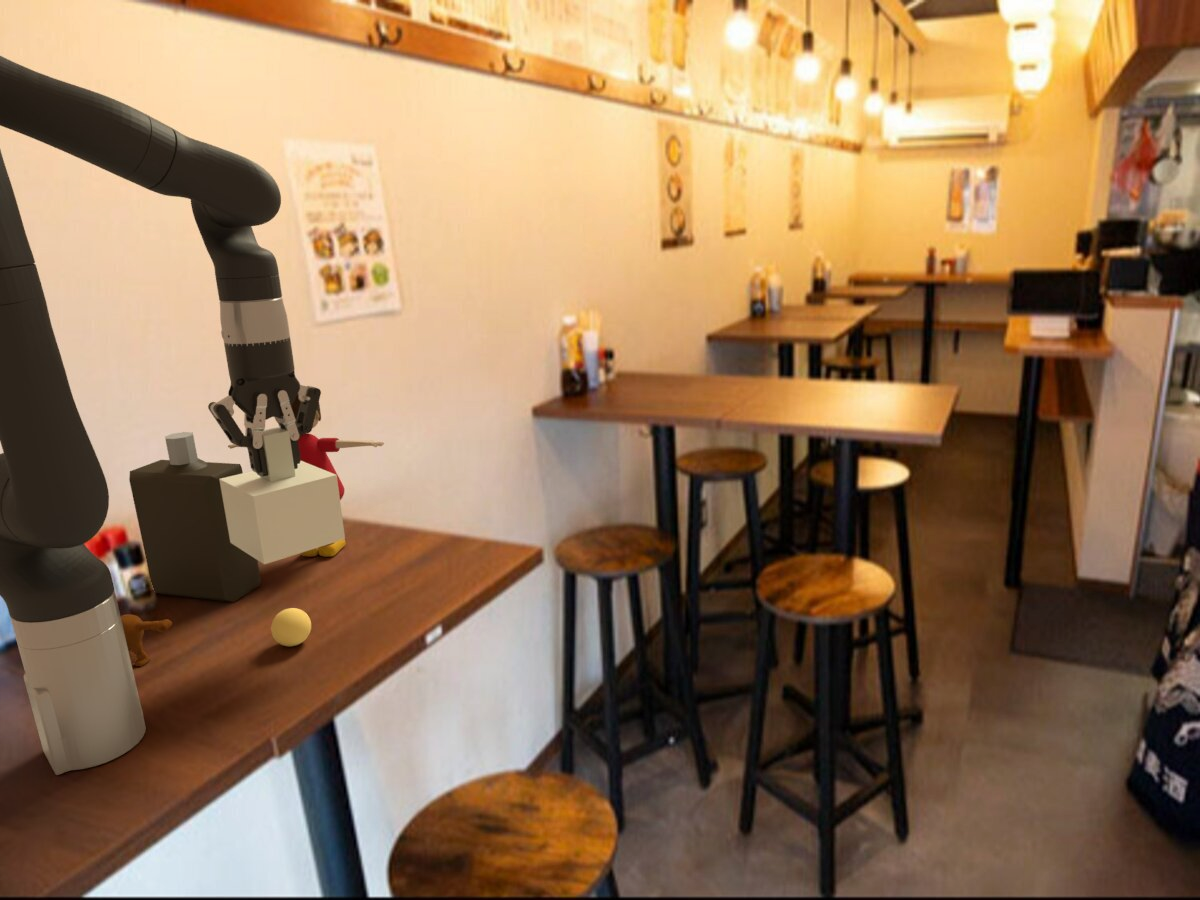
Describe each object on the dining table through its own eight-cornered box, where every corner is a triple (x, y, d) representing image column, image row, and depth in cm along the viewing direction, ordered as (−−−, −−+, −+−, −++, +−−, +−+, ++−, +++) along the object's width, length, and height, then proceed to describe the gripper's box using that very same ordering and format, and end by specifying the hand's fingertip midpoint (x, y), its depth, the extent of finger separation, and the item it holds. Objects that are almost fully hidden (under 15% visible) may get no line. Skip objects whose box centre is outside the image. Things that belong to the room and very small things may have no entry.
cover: (264, 564, 97) (245, 447, 93) (230, 542, 105) (211, 433, 101) (345, 538, 105) (330, 429, 101) (308, 520, 112) (293, 417, 108)
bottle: (233, 605, 119) (204, 444, 113) (147, 595, 124) (113, 440, 117) (268, 582, 127) (242, 430, 120) (185, 574, 131) (156, 426, 124)
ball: (273, 639, 103) (299, 607, 105) (257, 627, 106) (283, 596, 108) (299, 658, 106) (325, 626, 108) (283, 645, 109) (308, 615, 111)
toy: (405, 543, 140) (386, 375, 132) (383, 568, 130) (361, 388, 122) (261, 542, 143) (233, 377, 135) (228, 567, 133) (196, 391, 125)
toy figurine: (81, 670, 103) (69, 622, 101) (101, 655, 107) (90, 609, 105) (168, 671, 102) (158, 624, 100) (186, 656, 105) (176, 610, 104)
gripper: (208, 346, 90) (232, 491, 95) (325, 332, 100) (342, 464, 104) (185, 341, 95) (209, 479, 100) (298, 328, 105) (316, 454, 109)
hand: (277, 471), depth 102 cm, fingers closed on cover, 3 cm apart
